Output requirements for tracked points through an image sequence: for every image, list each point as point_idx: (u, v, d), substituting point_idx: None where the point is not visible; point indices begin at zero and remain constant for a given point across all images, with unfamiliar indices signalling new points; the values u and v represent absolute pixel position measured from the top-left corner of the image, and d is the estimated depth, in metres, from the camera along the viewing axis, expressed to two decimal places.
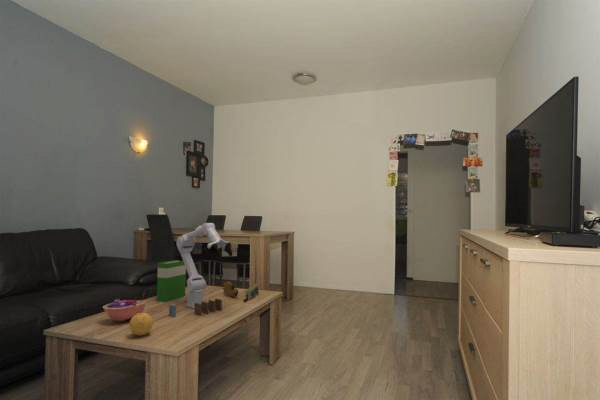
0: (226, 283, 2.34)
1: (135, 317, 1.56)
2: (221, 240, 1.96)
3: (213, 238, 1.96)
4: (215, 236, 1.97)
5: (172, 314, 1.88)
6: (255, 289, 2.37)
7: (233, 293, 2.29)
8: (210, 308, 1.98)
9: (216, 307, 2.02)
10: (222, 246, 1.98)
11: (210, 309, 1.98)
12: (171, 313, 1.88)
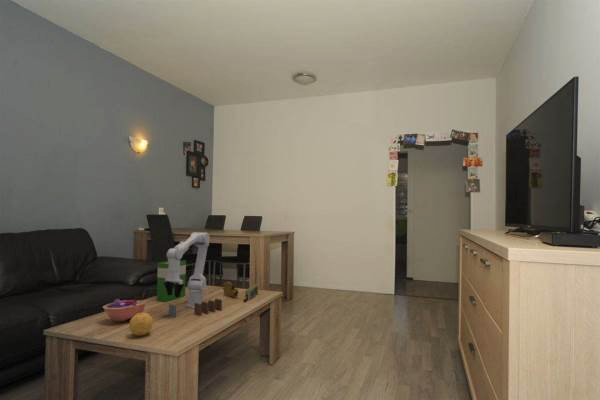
0: (226, 283, 2.34)
1: (135, 317, 1.56)
2: (168, 280, 1.87)
3: None
4: None
5: (172, 314, 1.88)
6: (255, 289, 2.37)
7: (233, 293, 2.29)
8: (210, 308, 1.98)
9: (216, 307, 2.02)
10: (176, 282, 1.88)
11: (210, 309, 1.98)
12: (171, 313, 1.88)
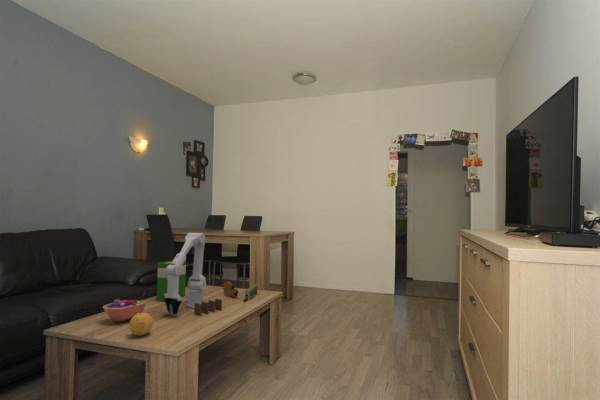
0: (226, 283, 2.34)
1: (135, 317, 1.56)
2: (167, 297, 1.86)
3: None
4: (167, 289, 1.88)
5: (172, 314, 1.88)
6: (254, 289, 2.37)
7: (233, 293, 2.29)
8: (210, 308, 1.98)
9: (216, 307, 2.02)
10: None
11: (210, 309, 1.98)
12: (171, 313, 1.88)
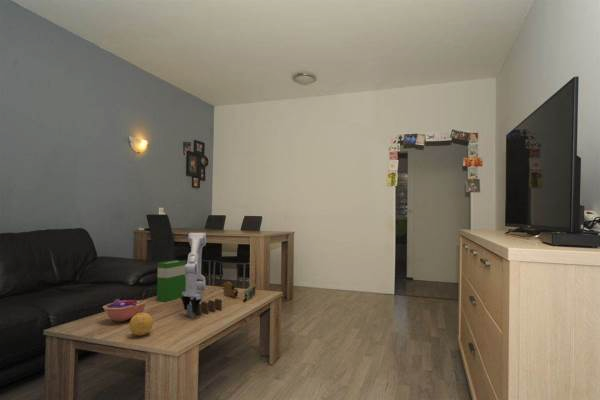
0: (226, 283, 2.34)
1: (135, 317, 1.56)
2: (185, 296, 1.86)
3: None
4: None
5: (190, 314, 1.87)
6: (252, 289, 2.37)
7: (233, 293, 2.29)
8: (210, 308, 1.98)
9: (216, 307, 2.02)
10: (193, 297, 1.87)
11: (210, 309, 1.98)
12: (189, 314, 1.88)
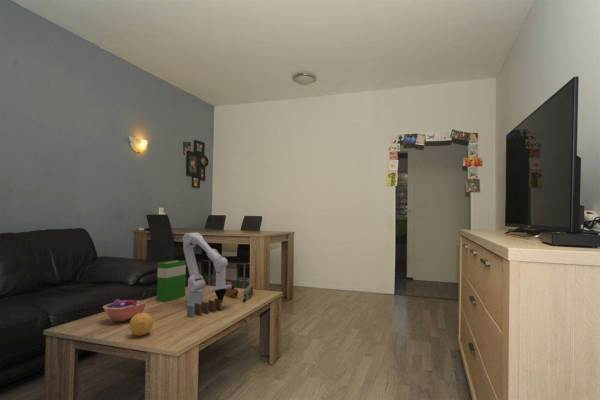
0: (226, 283, 2.34)
1: (135, 317, 1.56)
2: None
3: (218, 281, 2.01)
4: (221, 281, 2.01)
5: (190, 314, 1.87)
6: (251, 289, 2.37)
7: (233, 293, 2.29)
8: (210, 308, 1.98)
9: (216, 307, 2.02)
10: (222, 289, 2.05)
11: (210, 309, 1.98)
12: (189, 314, 1.88)
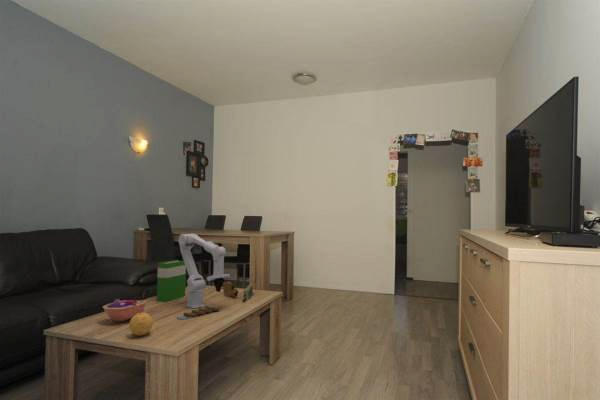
0: (226, 283, 2.34)
1: (135, 317, 1.56)
2: None
3: (216, 270, 2.00)
4: (219, 270, 2.00)
5: None
6: (250, 289, 2.37)
7: (233, 293, 2.29)
8: None
9: None
10: (220, 278, 2.04)
11: None
12: None
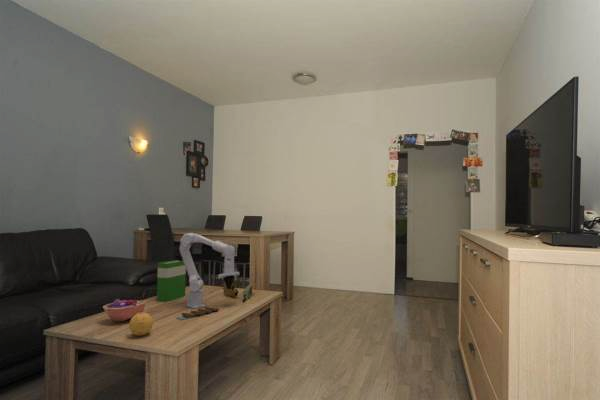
0: None
1: (135, 317, 1.56)
2: (232, 274, 2.08)
3: (227, 268, 2.08)
4: (230, 268, 2.08)
5: None
6: (250, 289, 2.37)
7: (233, 293, 2.29)
8: None
9: None
10: None
11: None
12: None
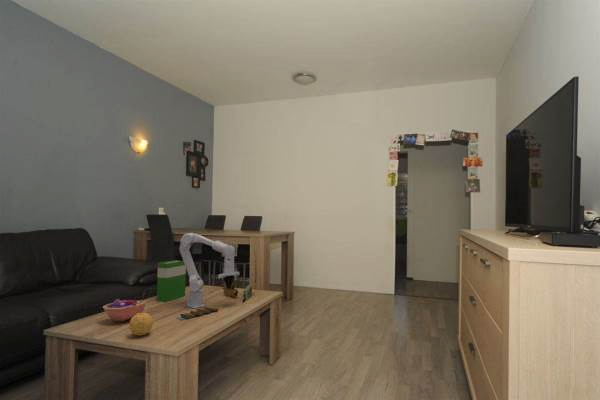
0: None
1: (135, 317, 1.56)
2: (232, 274, 2.08)
3: (227, 268, 2.08)
4: (230, 268, 2.08)
5: None
6: (250, 289, 2.37)
7: (233, 293, 2.29)
8: None
9: None
10: None
11: None
12: None
